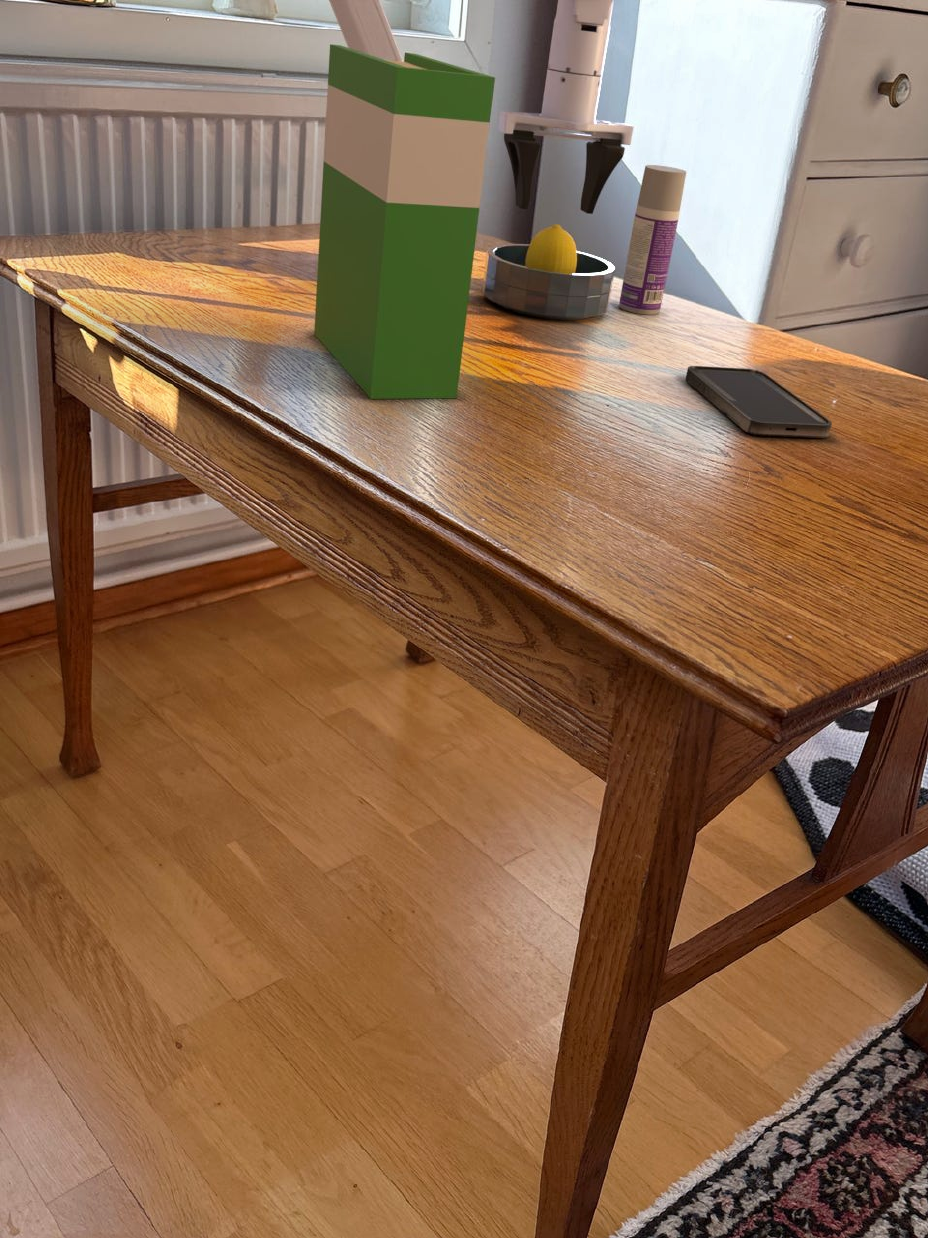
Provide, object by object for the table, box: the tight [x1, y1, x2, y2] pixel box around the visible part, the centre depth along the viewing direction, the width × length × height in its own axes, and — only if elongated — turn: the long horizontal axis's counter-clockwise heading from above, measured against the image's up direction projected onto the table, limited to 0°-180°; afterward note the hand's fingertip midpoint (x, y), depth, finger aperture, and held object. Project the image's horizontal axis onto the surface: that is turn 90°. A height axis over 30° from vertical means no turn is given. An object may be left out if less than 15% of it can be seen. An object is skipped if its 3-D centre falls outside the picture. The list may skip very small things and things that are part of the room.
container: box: [618, 164, 687, 316], centre depth 124 cm, size 5×5×15 cm
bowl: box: [481, 243, 616, 321], centre depth 123 cm, size 14×14×5 cm
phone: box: [684, 365, 833, 439], centre depth 100 cm, size 8×1×15 cm
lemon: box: [525, 223, 578, 273], centre depth 122 cm, size 6×6×8 cm
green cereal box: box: [313, 43, 496, 400], centre depth 93 cm, size 18×7×24 cm, turn 21°
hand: (554, 209), depth 123 cm, fingers open, 7 cm apart
